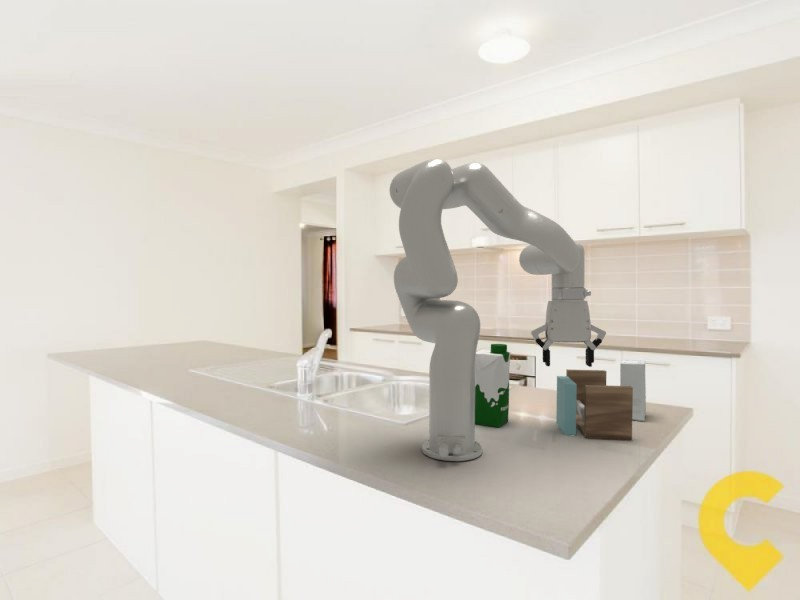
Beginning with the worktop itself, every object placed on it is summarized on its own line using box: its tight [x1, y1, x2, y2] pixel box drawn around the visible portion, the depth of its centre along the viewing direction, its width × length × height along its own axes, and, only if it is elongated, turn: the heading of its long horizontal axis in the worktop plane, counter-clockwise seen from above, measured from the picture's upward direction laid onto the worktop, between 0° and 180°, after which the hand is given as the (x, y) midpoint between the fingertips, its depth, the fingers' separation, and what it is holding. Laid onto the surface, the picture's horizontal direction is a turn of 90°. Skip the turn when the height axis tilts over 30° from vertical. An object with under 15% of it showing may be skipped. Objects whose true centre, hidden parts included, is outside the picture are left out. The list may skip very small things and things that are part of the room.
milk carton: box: [475, 343, 511, 429], centre depth 122 cm, size 9×9×20 cm
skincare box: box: [619, 359, 647, 422], centre depth 128 cm, size 8×6×15 cm
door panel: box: [555, 375, 577, 437], centre depth 116 cm, size 10×3×12 cm, turn 172°
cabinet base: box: [565, 369, 633, 441], centre depth 119 cm, size 22×10×12 cm, turn 172°
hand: (568, 365), depth 116 cm, fingers open, 9 cm apart
